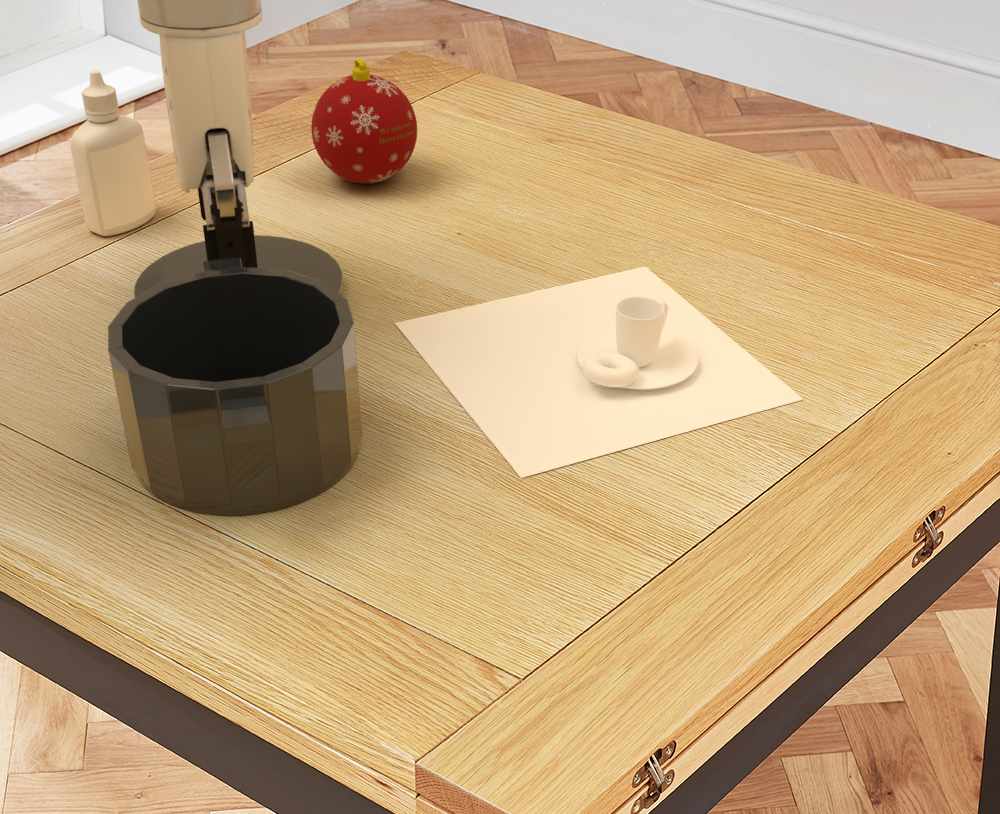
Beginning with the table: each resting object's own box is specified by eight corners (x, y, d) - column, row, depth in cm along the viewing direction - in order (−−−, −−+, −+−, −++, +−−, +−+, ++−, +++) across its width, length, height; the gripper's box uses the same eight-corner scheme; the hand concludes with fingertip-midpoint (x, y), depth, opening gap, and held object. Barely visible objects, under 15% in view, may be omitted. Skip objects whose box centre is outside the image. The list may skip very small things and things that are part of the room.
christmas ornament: (340, 209, 108) (331, 86, 102) (300, 170, 114) (288, 52, 108) (436, 187, 111) (433, 67, 105) (392, 151, 117) (386, 35, 111)
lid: (138, 360, 89) (120, 262, 85) (134, 260, 101) (118, 169, 96) (357, 334, 92) (350, 238, 88) (329, 240, 103) (322, 151, 99)
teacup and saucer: (602, 409, 85) (605, 353, 82) (545, 350, 90) (546, 296, 88) (720, 378, 88) (727, 323, 85) (658, 322, 93) (662, 269, 91)
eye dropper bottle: (163, 228, 105) (139, 76, 98) (90, 240, 103) (59, 87, 96) (153, 206, 108) (128, 57, 101) (81, 217, 107) (51, 67, 99)
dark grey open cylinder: (135, 561, 73) (108, 431, 68) (130, 378, 88) (107, 260, 83) (384, 525, 75) (376, 397, 70) (338, 354, 90) (329, 237, 85)
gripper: (134, -40, 90) (169, 200, 100) (140, 44, 76) (179, 312, 87) (248, -46, 91) (271, 192, 101) (273, 36, 78) (297, 300, 88)
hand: (229, 247), depth 94 cm, fingers open, 9 cm apart
